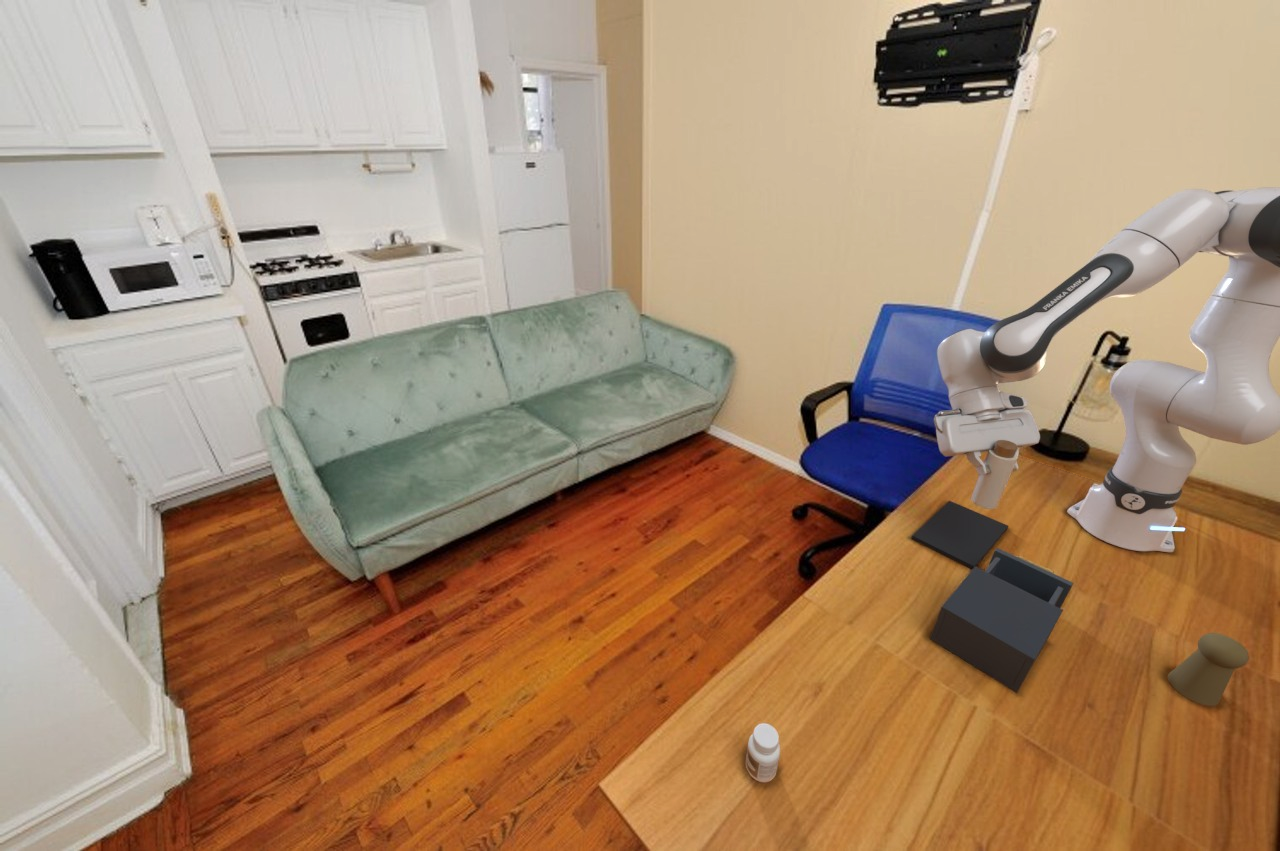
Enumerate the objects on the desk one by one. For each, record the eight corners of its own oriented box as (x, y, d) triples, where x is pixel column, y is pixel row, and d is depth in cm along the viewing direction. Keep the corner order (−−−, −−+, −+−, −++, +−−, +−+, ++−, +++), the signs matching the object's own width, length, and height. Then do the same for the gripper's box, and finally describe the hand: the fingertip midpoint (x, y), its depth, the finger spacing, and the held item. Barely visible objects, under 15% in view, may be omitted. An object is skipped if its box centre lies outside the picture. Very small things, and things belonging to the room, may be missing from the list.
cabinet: (962, 597, 99) (975, 566, 96) (1045, 642, 90) (1063, 609, 86) (929, 638, 91) (941, 606, 87) (1017, 693, 82) (1034, 659, 78)
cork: (1230, 709, 79) (1270, 663, 74) (1184, 702, 80) (1221, 656, 75) (1200, 674, 84) (1236, 629, 79) (1158, 668, 85) (1190, 623, 80)
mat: (948, 503, 126) (949, 500, 125) (1007, 529, 117) (1008, 525, 117) (910, 538, 115) (912, 535, 114) (973, 570, 106) (974, 566, 105)
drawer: (994, 561, 107) (1004, 538, 104) (1067, 596, 98) (1080, 571, 95) (960, 604, 97) (969, 580, 94) (1037, 647, 88) (1050, 622, 85)
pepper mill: (982, 492, 107) (1004, 436, 100) (1003, 506, 103) (1027, 448, 96) (965, 497, 106) (986, 440, 99) (985, 511, 102) (1009, 453, 95)
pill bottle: (741, 752, 75) (746, 721, 71) (770, 749, 75) (776, 718, 71) (750, 785, 71) (755, 753, 67) (780, 781, 71) (787, 750, 67)
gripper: (942, 407, 99) (963, 475, 96) (1033, 397, 102) (1057, 463, 98) (921, 416, 105) (941, 481, 102) (1008, 406, 108) (1030, 469, 104)
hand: (999, 472), depth 100 cm, fingers closed on pepper mill, 5 cm apart
